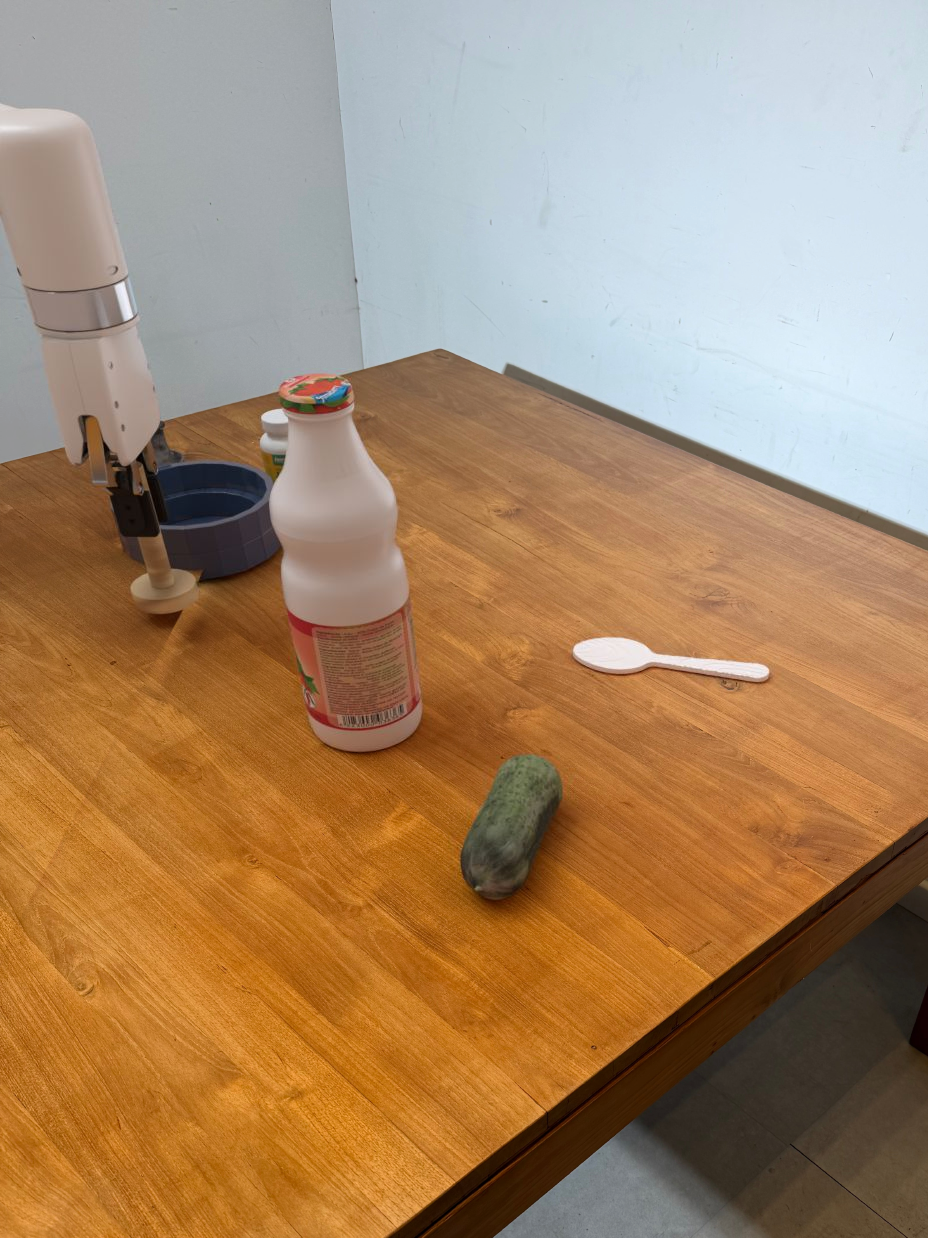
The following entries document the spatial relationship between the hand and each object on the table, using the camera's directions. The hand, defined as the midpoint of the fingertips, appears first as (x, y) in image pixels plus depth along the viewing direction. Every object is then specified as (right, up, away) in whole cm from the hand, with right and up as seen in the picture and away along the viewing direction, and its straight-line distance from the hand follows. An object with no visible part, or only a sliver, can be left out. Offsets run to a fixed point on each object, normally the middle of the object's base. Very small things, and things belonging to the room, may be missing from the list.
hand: (145, 526), depth 98 cm
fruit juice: (+20, -17, -3) cm, 27 cm away
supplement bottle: (+5, +10, +27) cm, 30 cm away
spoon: (+46, -11, +5) cm, 47 cm away
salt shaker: (-10, +12, +28) cm, 32 cm away
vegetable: (+33, -28, -14) cm, 46 cm away
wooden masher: (0, -5, +5) cm, 7 cm away
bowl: (-2, +3, +19) cm, 19 cm away
